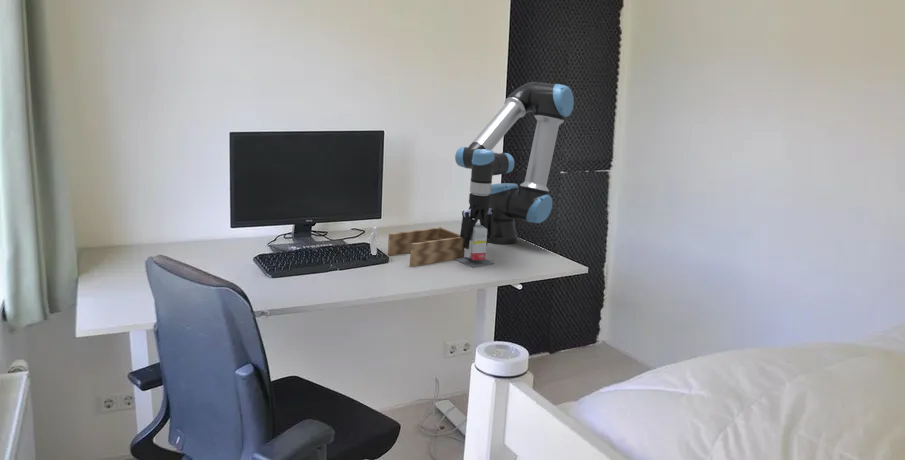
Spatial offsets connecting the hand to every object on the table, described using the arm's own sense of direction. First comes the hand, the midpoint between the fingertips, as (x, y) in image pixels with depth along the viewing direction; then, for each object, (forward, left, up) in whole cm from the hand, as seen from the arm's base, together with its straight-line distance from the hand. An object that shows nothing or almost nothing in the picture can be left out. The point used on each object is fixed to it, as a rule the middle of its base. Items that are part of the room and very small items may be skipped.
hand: (474, 255), depth 257 cm
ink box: (0, 0, -1) cm, 1 cm away
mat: (0, 0, -2) cm, 2 cm away
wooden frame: (+12, -13, -2) cm, 18 cm away
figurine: (+31, -20, -3) cm, 37 cm away
